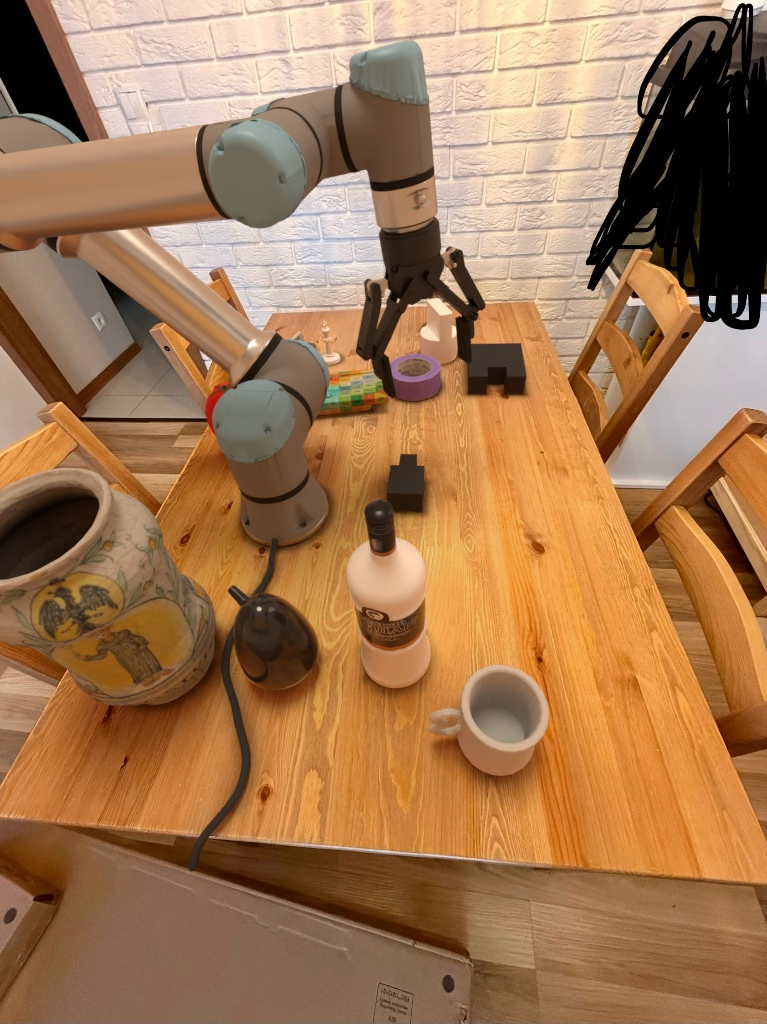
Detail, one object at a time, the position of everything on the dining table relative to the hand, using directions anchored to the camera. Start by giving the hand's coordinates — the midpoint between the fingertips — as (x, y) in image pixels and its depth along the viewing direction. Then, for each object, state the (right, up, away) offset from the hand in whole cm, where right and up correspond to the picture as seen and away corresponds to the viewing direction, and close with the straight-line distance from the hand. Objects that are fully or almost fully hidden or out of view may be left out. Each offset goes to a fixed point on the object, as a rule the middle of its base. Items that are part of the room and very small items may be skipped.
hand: (428, 376), depth 71 cm
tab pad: (-3, -17, +12) cm, 21 cm away
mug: (+5, -48, -16) cm, 51 cm away
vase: (-37, -42, -7) cm, 56 cm away
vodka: (-5, -41, -9) cm, 42 cm away
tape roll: (0, +8, +34) cm, 35 cm away
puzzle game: (-16, +4, +32) cm, 37 cm away
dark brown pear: (-20, -42, -8) cm, 47 cm away
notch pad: (+18, +10, +34) cm, 40 cm away
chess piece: (-20, +17, +45) cm, 52 cm away
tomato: (-36, -6, +26) cm, 44 cm away
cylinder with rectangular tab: (+7, +18, +43) cm, 47 cm away
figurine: (+7, +28, +52) cm, 59 cm away
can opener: (-31, +16, +44) cm, 56 cm away
